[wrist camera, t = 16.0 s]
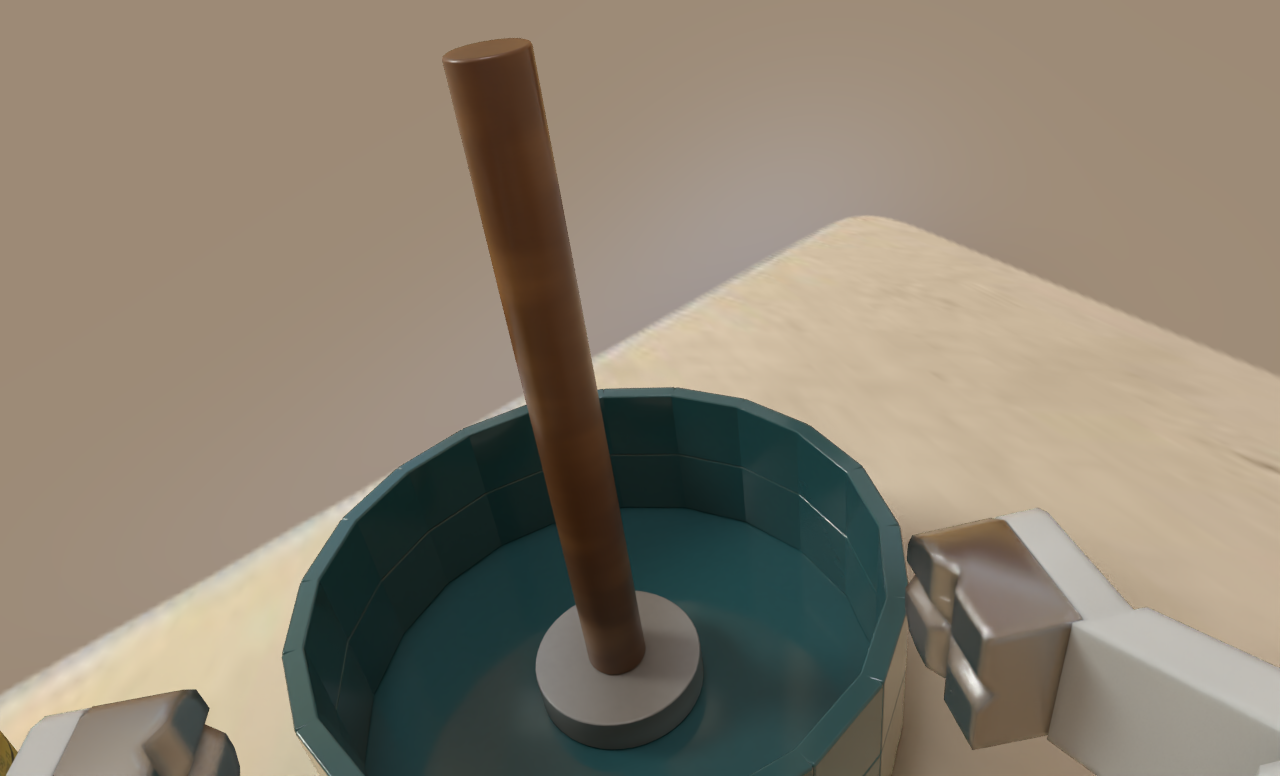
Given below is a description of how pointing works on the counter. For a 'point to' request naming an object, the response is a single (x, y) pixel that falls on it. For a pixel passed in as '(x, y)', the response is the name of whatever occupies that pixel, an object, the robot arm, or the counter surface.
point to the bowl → (660, 564)
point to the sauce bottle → (6, 754)
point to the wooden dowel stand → (567, 421)
